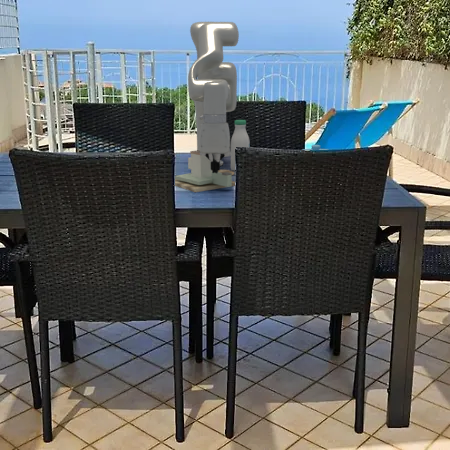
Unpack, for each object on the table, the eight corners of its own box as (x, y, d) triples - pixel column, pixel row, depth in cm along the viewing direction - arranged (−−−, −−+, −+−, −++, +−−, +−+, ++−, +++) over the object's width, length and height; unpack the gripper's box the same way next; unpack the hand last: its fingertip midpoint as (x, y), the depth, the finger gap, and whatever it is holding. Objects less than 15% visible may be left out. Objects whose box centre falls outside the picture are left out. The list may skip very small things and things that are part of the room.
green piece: (214, 189, 208) (214, 176, 206) (175, 179, 223) (174, 167, 222) (244, 183, 217) (244, 170, 215) (204, 174, 232) (204, 162, 231)
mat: (197, 173, 243) (197, 171, 243) (222, 169, 250) (222, 168, 250) (215, 178, 234) (215, 176, 233) (240, 174, 240) (240, 173, 240)
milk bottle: (247, 171, 246) (248, 121, 240) (229, 171, 247) (228, 121, 242) (251, 168, 253) (251, 119, 247) (232, 167, 254) (232, 119, 249)
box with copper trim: (200, 178, 219) (200, 153, 216) (186, 174, 224) (185, 150, 222) (213, 176, 222) (213, 151, 220) (198, 172, 228) (198, 148, 226)
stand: (168, 183, 225) (167, 179, 225) (208, 177, 235) (208, 173, 235) (194, 192, 211) (194, 187, 211) (236, 185, 221) (236, 181, 221)
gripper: (190, 120, 205) (191, 174, 210) (235, 121, 202) (235, 175, 208) (195, 117, 212) (196, 169, 217) (238, 118, 209) (238, 170, 215)
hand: (215, 172), depth 212 cm, fingers closed
